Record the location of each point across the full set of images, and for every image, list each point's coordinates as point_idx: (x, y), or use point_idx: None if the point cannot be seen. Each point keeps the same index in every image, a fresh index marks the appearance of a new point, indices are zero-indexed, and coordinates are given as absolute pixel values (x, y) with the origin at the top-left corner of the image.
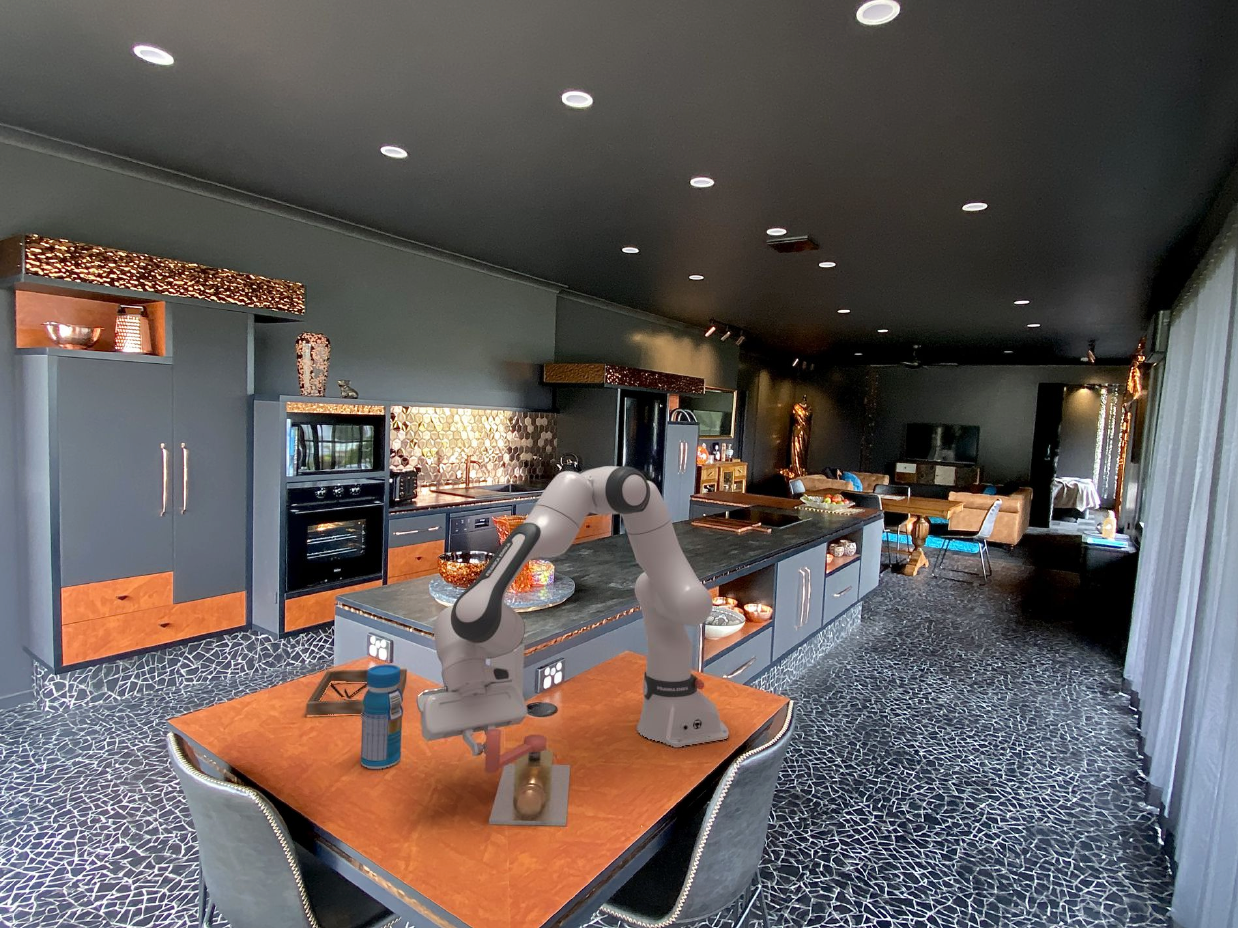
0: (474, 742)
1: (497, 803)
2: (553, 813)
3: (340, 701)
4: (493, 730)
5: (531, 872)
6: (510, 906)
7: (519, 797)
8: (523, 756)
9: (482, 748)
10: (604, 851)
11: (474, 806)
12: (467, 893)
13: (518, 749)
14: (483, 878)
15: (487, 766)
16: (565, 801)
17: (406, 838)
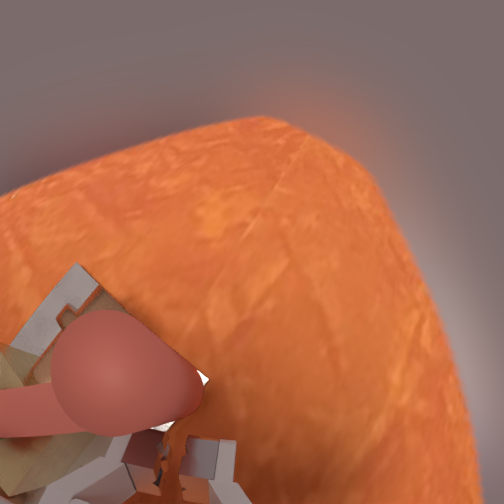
0: (226, 487)
1: None
2: (73, 304)
3: None
4: (92, 394)
5: (228, 185)
6: (298, 147)
7: None
8: (13, 453)
9: (187, 444)
10: (96, 171)
11: None
12: (347, 200)
13: (18, 413)
14: (310, 216)
15: (199, 377)
16: (27, 328)
17: (398, 421)
